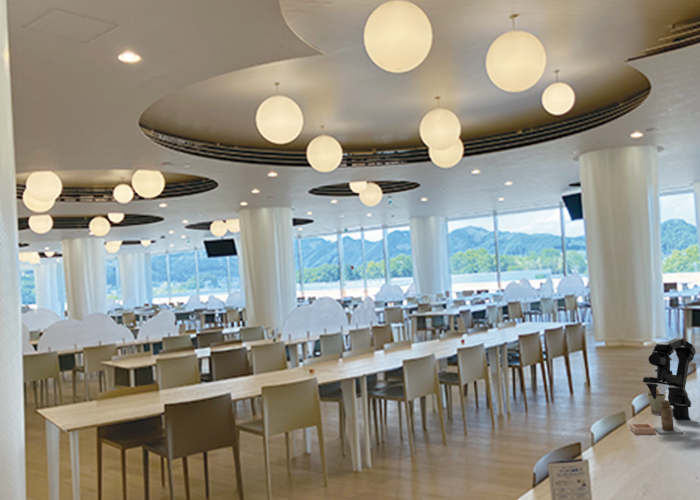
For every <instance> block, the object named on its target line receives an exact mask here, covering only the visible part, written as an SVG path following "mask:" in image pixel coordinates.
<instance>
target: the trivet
mask: <svg viewBox="0 0 700 500" xmlns="http://www.w3.org/2000/svg"><path fill="white" fill-rule="evenodd" d="M653 427H654V428H655V432H657V433H658V434H659V435H684V432H683V431H682V430H681V429H679V428H678V427H677V426H674V430H673V431H665V430H662V426H653Z"/></svg>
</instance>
